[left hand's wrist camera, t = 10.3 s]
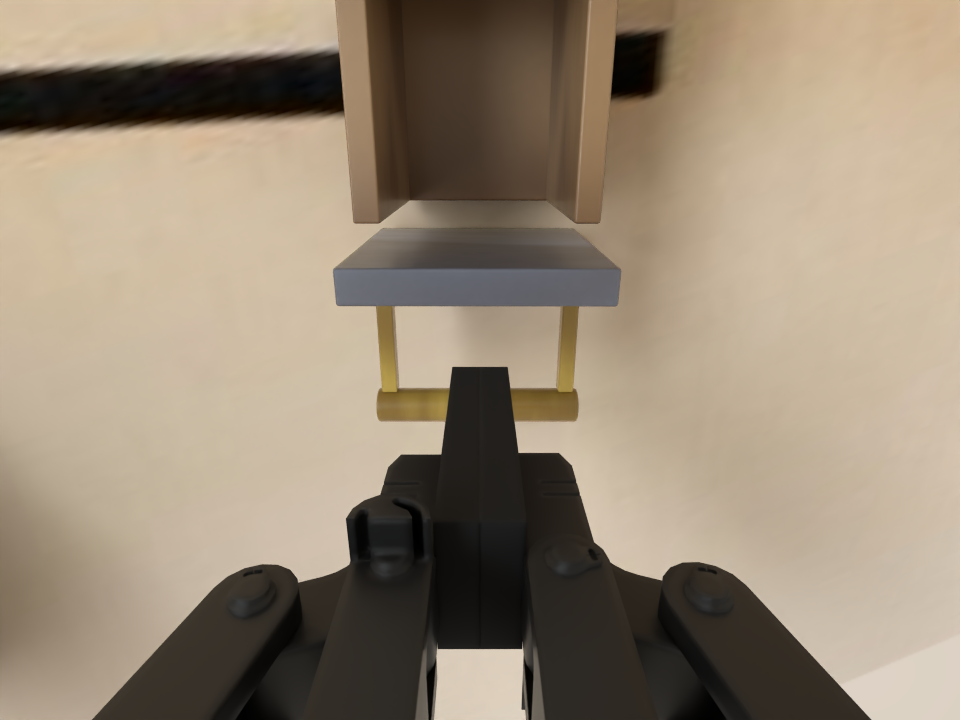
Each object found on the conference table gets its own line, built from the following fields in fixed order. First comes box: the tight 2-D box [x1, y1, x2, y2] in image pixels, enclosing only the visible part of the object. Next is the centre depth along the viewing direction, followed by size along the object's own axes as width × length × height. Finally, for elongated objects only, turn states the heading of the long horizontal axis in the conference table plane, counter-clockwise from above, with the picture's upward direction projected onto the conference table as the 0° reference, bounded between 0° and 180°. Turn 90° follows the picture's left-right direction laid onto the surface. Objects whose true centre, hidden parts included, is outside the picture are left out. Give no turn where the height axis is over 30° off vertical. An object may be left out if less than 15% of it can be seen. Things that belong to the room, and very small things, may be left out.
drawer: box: [333, 0, 621, 422], centre depth 18 cm, size 26×9×9 cm, turn 0°
